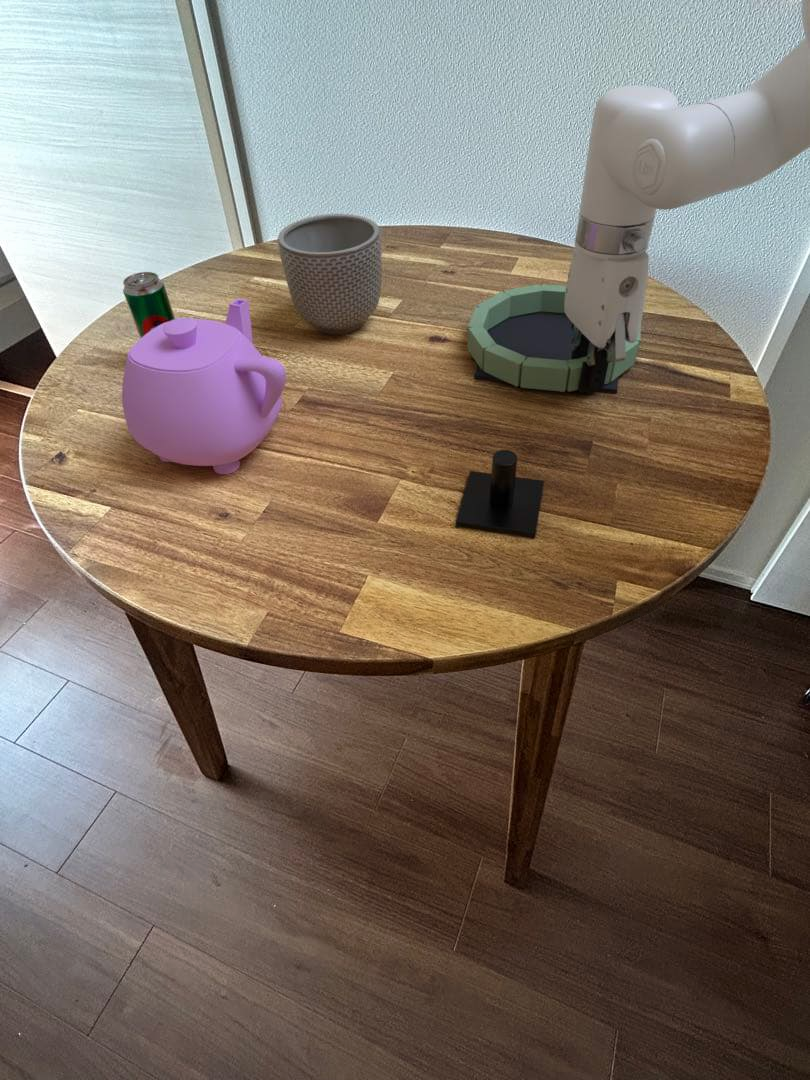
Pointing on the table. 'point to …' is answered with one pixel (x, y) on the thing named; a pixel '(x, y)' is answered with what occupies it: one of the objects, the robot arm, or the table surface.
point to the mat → (537, 340)
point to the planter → (333, 269)
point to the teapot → (202, 391)
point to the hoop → (519, 366)
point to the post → (501, 499)
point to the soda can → (147, 301)
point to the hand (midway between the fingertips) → (585, 382)
